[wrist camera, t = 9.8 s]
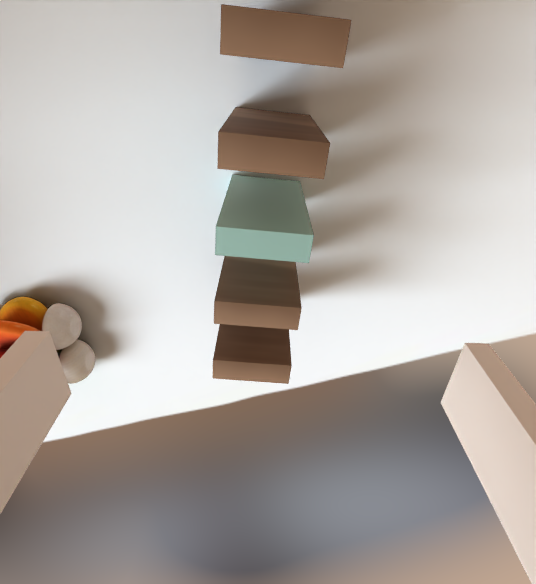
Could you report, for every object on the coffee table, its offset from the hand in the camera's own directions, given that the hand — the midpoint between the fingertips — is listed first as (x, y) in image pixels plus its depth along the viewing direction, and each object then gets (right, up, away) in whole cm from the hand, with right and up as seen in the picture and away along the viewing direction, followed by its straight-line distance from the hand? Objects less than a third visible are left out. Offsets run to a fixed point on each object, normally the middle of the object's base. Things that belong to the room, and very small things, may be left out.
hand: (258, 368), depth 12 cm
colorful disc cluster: (-20, -1, +23) cm, 31 cm away
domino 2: (+1, +14, +13) cm, 19 cm away
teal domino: (0, +10, +16) cm, 19 cm away
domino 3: (0, +6, +18) cm, 19 cm away
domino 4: (-1, +3, +20) cm, 20 cm away
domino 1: (+1, +18, +11) cm, 21 cm away
